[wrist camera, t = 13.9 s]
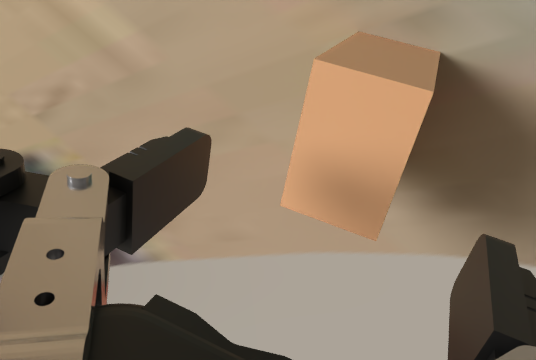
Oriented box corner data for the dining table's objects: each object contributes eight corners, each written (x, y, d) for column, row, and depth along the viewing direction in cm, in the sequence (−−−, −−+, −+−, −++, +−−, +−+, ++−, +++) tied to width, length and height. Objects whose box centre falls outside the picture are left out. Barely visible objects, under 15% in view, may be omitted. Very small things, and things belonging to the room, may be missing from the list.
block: (440, 52, 20) (433, 91, 13) (398, 163, 23) (376, 241, 16) (358, 31, 21) (314, 59, 14) (328, 140, 24) (280, 205, 17)
